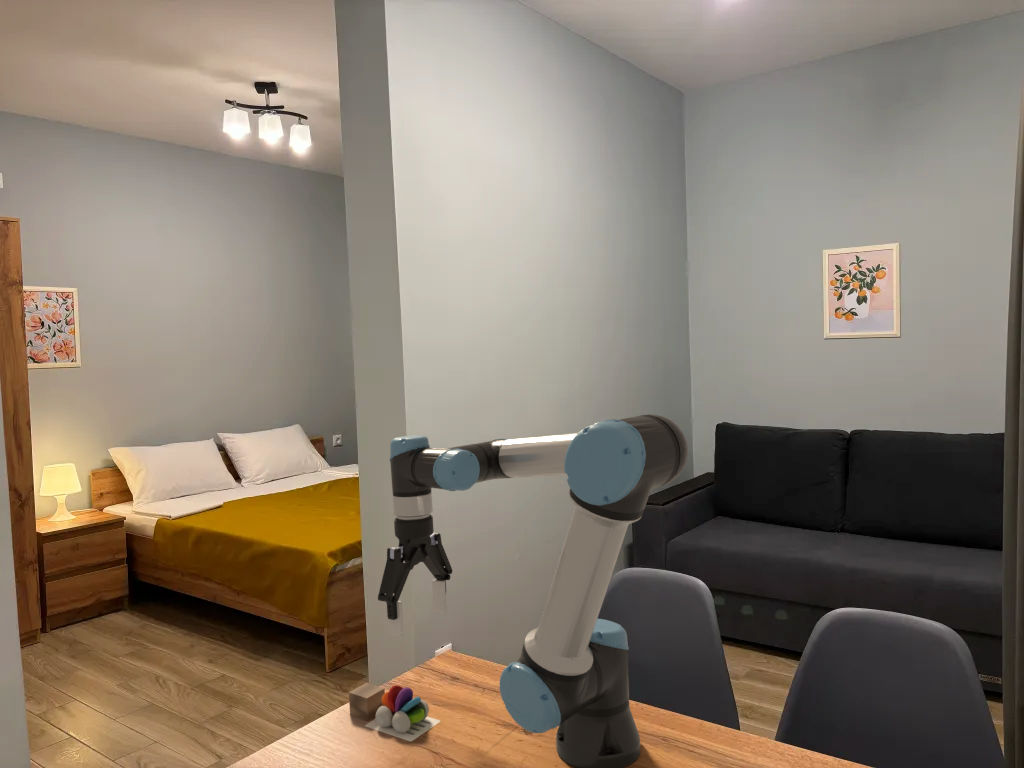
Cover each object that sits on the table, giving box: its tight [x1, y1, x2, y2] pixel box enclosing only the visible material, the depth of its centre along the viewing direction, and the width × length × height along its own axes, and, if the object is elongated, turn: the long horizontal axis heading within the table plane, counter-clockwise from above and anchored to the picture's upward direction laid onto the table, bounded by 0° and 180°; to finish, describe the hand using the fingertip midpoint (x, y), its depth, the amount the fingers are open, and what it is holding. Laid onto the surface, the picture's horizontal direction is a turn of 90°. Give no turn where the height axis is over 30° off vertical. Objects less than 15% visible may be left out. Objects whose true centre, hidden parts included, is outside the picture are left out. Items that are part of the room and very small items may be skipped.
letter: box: [364, 716, 441, 742], centre depth 148 cm, size 12×9×1 cm
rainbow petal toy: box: [375, 684, 430, 733], centre depth 147 cm, size 8×10×7 cm
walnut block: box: [348, 682, 386, 722], centre depth 152 cm, size 5×5×5 cm
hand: (419, 623), depth 147 cm, fingers open, 13 cm apart
